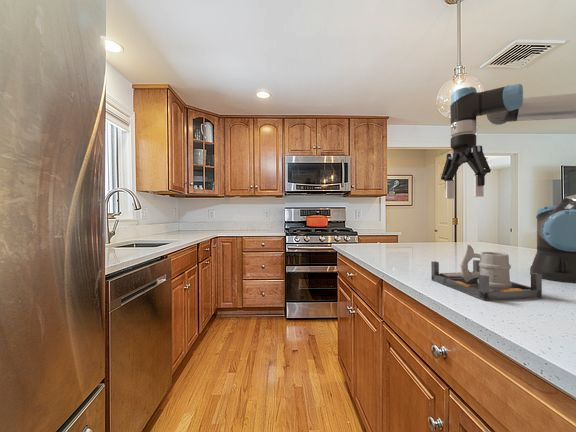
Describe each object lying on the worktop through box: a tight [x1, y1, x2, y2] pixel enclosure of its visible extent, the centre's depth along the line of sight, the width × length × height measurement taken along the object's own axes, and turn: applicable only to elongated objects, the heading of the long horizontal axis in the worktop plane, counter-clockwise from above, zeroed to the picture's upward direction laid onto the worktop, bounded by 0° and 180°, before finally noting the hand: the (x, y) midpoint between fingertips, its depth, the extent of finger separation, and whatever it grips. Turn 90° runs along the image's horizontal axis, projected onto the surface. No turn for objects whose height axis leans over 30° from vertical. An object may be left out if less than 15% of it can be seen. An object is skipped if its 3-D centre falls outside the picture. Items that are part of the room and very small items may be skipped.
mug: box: [459, 244, 512, 291], centre depth 78 cm, size 8×12×12 cm, turn 58°
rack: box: [430, 259, 543, 302], centre depth 80 cm, size 16×21×6 cm
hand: (463, 197), depth 96 cm, fingers open, 13 cm apart
